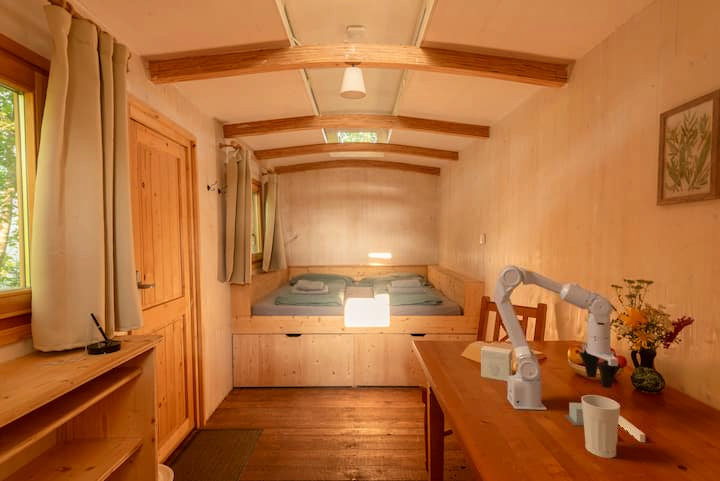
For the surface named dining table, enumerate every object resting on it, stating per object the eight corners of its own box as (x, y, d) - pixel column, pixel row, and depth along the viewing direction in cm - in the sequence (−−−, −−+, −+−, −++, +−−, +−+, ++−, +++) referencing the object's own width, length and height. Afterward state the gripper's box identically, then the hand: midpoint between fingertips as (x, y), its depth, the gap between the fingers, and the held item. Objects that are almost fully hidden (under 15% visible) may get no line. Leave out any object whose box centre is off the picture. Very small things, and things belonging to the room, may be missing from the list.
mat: (574, 425, 101) (574, 424, 101) (564, 416, 107) (564, 414, 107) (595, 426, 101) (595, 425, 101) (584, 416, 106) (584, 415, 106)
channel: (612, 441, 93) (612, 433, 93) (583, 415, 107) (583, 408, 107) (645, 442, 93) (645, 434, 93) (611, 416, 106) (611, 409, 106)
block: (576, 423, 102) (576, 409, 102) (569, 416, 106) (569, 402, 106) (591, 423, 101) (591, 409, 101) (583, 416, 105) (583, 403, 105)
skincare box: (512, 376, 137) (512, 349, 137) (509, 382, 132) (509, 353, 132) (484, 371, 143) (484, 344, 143) (480, 376, 138) (480, 349, 138)
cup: (574, 442, 93) (574, 395, 93) (603, 440, 94) (603, 394, 94) (597, 460, 85) (597, 410, 85) (628, 459, 86) (628, 408, 86)
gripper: (629, 343, 99) (629, 392, 99) (598, 330, 114) (598, 373, 114) (602, 343, 100) (602, 392, 100) (575, 329, 114) (575, 372, 114)
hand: (598, 381), depth 107 cm, fingers open, 7 cm apart
